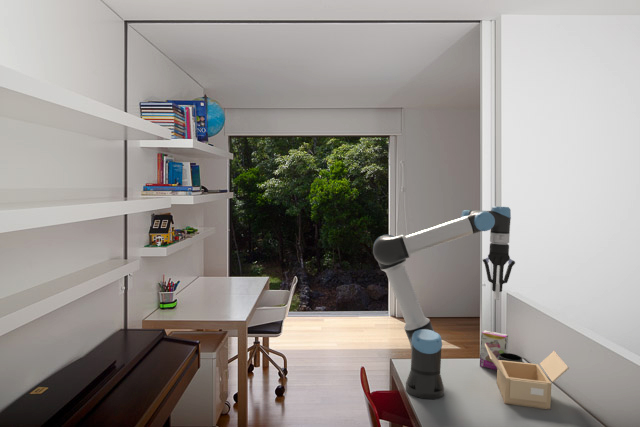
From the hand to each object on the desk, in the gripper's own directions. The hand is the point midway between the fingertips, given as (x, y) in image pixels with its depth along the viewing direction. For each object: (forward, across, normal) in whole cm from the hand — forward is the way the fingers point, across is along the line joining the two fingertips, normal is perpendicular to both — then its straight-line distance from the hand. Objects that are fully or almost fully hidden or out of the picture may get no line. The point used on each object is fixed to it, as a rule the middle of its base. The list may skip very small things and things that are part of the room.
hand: (496, 299), depth 189 cm
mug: (+37, +10, +12) cm, 40 cm away
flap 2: (+23, +21, -8) cm, 32 cm away
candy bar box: (+37, +3, +20) cm, 42 cm away
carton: (+36, +10, -8) cm, 39 cm away
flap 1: (+23, -1, -8) cm, 24 cm away
